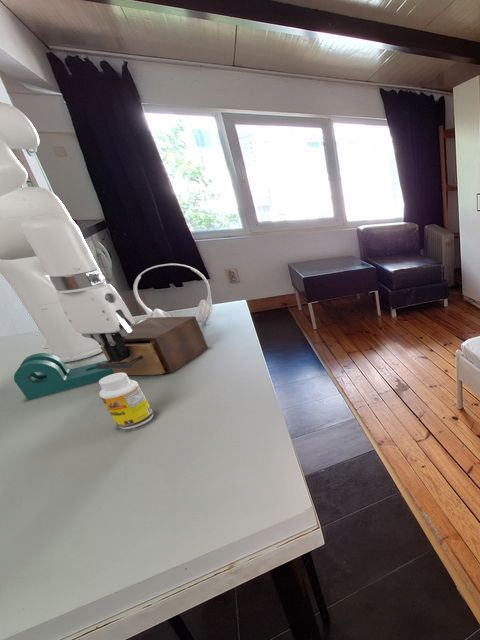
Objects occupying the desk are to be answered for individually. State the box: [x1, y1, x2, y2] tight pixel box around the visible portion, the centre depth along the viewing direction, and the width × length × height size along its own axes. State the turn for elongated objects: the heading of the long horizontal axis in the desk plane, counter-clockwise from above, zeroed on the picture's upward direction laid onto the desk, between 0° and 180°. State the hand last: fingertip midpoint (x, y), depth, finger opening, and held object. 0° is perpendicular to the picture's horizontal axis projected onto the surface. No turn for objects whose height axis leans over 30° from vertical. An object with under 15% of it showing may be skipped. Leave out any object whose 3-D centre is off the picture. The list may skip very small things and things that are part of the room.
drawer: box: [96, 341, 166, 376], centre depth 89 cm, size 17×11×8 cm, turn 178°
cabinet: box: [123, 315, 209, 374], centre depth 94 cm, size 14×13×10 cm
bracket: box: [13, 352, 115, 401], centre depth 87 cm, size 18×7×8 cm, turn 129°
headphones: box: [133, 263, 214, 325], centre depth 112 cm, size 7×18×20 cm, turn 127°
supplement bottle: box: [98, 373, 154, 430], centre depth 70 cm, size 6×6×10 cm
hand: (121, 358), depth 83 cm, fingers closed
